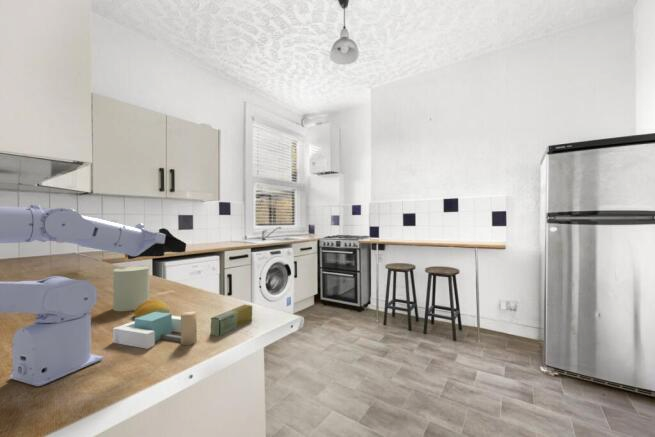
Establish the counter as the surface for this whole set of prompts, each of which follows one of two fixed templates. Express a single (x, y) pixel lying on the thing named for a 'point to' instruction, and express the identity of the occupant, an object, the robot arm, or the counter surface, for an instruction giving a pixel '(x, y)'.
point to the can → (130, 287)
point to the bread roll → (151, 308)
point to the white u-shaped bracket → (140, 334)
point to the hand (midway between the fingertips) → (174, 249)
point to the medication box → (230, 319)
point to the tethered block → (170, 326)
